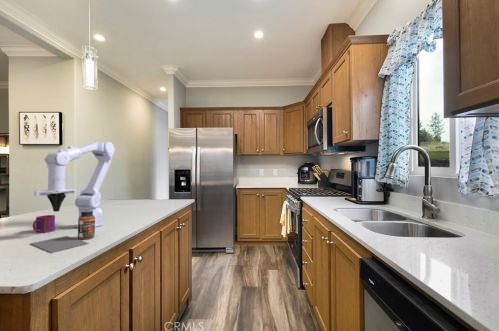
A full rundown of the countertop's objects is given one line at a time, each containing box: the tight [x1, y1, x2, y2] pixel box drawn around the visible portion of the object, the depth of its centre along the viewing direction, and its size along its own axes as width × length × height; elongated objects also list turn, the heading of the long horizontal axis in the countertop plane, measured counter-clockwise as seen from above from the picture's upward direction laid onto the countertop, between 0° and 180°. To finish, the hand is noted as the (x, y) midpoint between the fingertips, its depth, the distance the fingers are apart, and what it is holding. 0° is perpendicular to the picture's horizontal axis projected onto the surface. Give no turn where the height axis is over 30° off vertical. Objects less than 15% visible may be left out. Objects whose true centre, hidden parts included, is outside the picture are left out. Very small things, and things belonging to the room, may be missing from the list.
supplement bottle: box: [77, 210, 96, 241], centre depth 101 cm, size 6×6×11 cm
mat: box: [29, 235, 89, 254], centre depth 93 cm, size 12×18×1 cm, turn 59°
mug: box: [32, 214, 56, 234], centre depth 109 cm, size 7×10×7 cm
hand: (56, 211), depth 105 cm, fingers closed
